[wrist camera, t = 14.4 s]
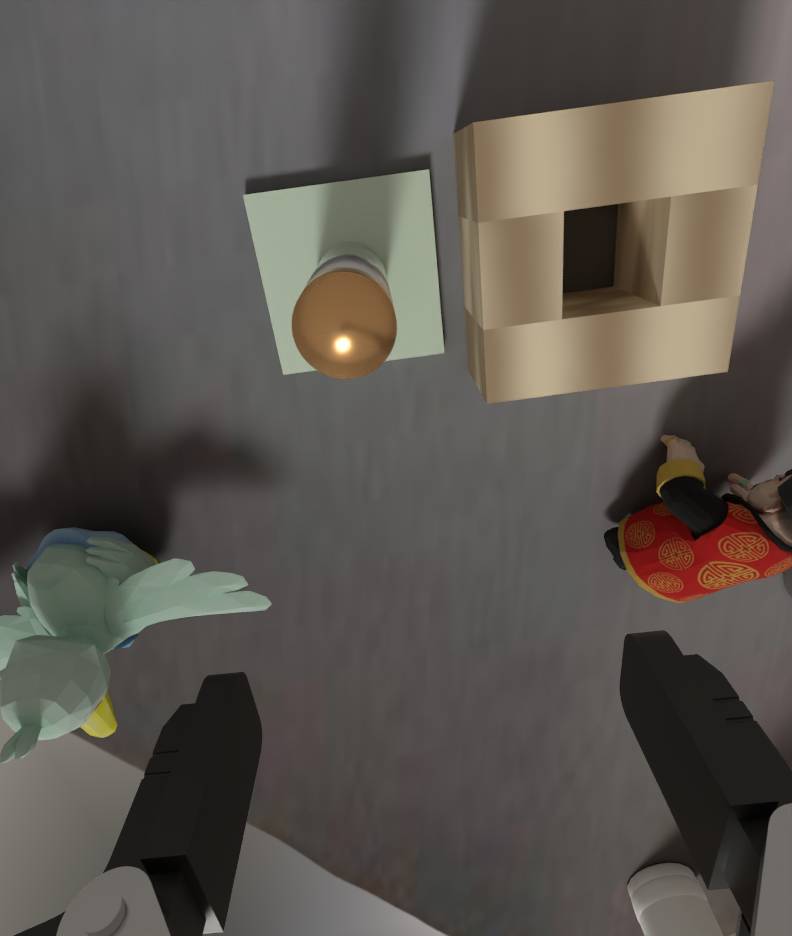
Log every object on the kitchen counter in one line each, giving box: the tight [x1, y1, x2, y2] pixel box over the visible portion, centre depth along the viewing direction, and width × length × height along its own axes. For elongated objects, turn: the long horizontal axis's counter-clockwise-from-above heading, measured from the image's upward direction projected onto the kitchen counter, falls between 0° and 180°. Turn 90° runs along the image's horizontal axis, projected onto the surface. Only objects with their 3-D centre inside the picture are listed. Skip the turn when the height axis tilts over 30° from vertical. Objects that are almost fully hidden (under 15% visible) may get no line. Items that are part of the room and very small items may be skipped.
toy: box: [0, 527, 272, 764], centre depth 34 cm, size 23×12×15 cm, turn 108°
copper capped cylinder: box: [292, 242, 397, 379], centre depth 26 cm, size 4×4×12 cm
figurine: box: [604, 435, 792, 602], centre depth 36 cm, size 10×10×15 cm
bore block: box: [454, 81, 774, 404], centre depth 29 cm, size 13×13×6 cm
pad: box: [243, 169, 444, 375], centre depth 32 cm, size 10×10×1 cm
